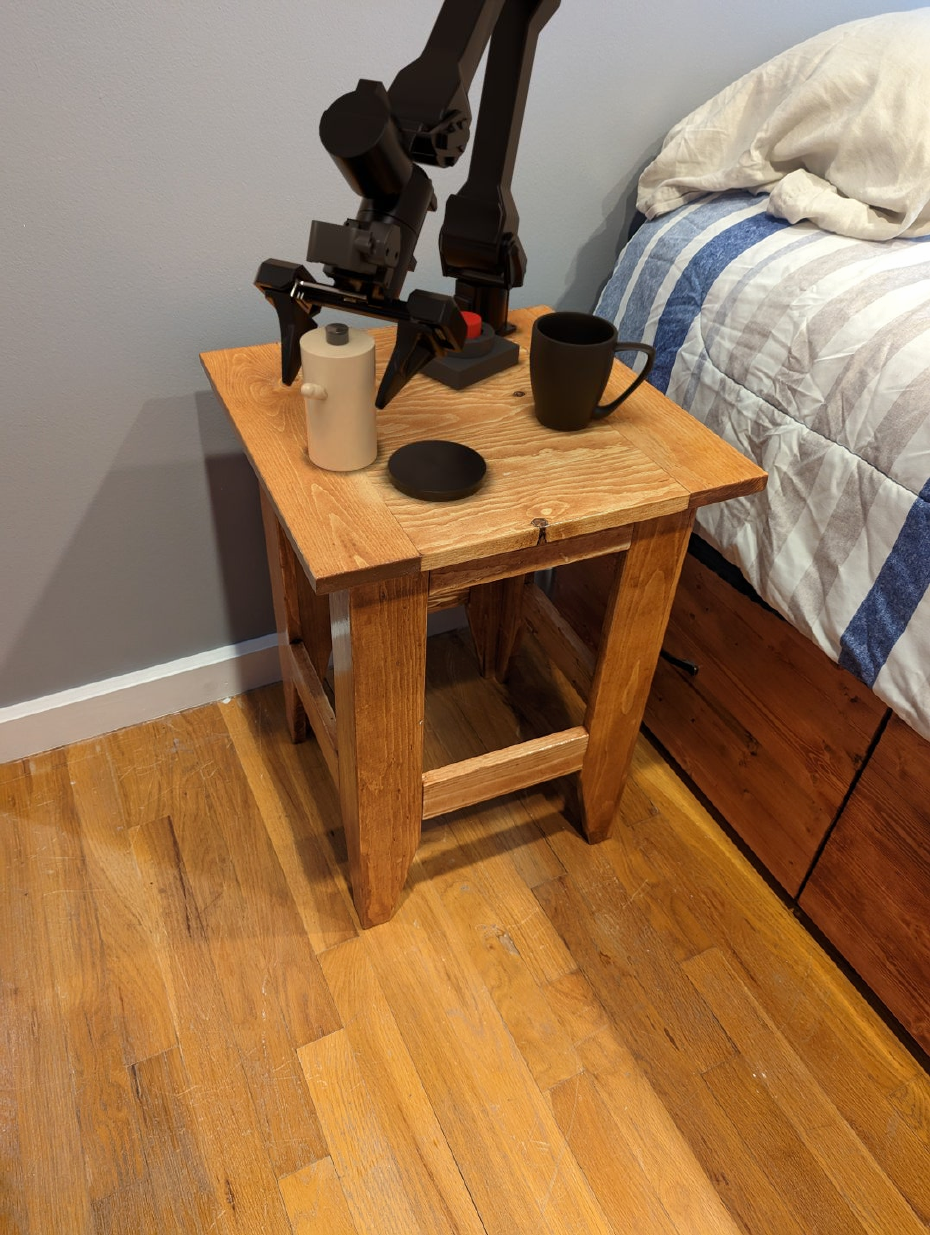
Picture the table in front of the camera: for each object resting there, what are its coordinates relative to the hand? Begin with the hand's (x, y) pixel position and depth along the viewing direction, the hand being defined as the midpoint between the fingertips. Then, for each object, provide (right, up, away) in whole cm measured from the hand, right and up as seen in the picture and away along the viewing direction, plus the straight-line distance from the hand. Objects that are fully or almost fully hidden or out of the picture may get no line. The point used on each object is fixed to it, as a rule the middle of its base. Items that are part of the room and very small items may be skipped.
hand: (331, 396), depth 76 cm
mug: (+24, 0, +12) cm, 27 cm away
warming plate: (+9, -6, +3) cm, 12 cm away
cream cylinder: (0, -5, +4) cm, 7 cm away
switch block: (+11, +9, +21) cm, 25 cm away
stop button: (+12, +12, +19) cm, 25 cm away
